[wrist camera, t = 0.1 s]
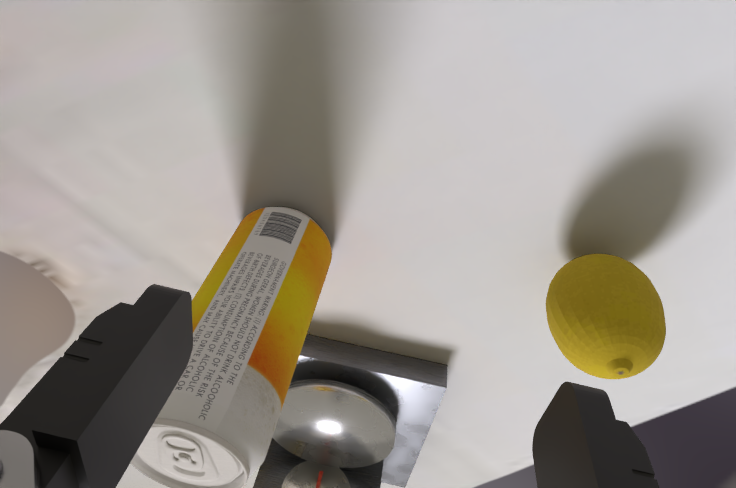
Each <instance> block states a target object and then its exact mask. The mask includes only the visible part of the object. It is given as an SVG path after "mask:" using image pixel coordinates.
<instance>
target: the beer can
mask: <svg viewBox="0 0 736 488" xmlns="http://www.w3.org/2000/svg"><path fill="white" fill-rule="evenodd" d="M331 258H332V251H331V246H330V242H329V240H328V238H327V236H326V234H325V233H324V232H323V230H322V229H321V228H320V227H319V225H318V224H317V223H316V222H315V221H314V220H313V219H312V218H310V217H309V216H307V215H306V214H304V213H302V212H300V211H298V210H295V209H292V208H287V207H265V208H261V209H258V210H255V211H253V212H251V213H250V214H248V215H247V216H246V217H245V218H244V219H243V220H242V221H241V223H240V224H239V226H238V228H237V229H236V231H235V233H234V234H233V236H232V237H231V239H230V241H229V242H228V244H227V245H226V247H225V249H224V250H223V252H222V253H221V255H220V257H219V258H218V260H217V261H216V263H215V265H214V266H213V268H212V270H211V271H210V273H209V274H208V276H207V278H206V279H205V281H204V282H203V284H202V286H201V287H200V289H199V290H198V292H197V294H196V295H195V297H194V298H193V300H192V325H193V348H192V353H191V356H190V359H189V362H188V365H187V367H186V369H185V371H184V372H183V374H182V376H181V378H180V379H179V381H178V383H177V384H176V386H175V388H174V389H173V391H172V393H171V394H170V396H169V398H168V400H167V401H166V403H165V405H164V406H163V408H162V410H161V411H160V413H159V415H158V416H157V418H156V420H155V422H154V423H153V425H152V427H151V428H150V430H149V432H148V433H147V435H146V437H145V438H144V440H143V442H142V444H141V445H140V447H139V449H138V450H137V452H136V454H135V455H134V457H133V459H132V460H131V462H130V464H131V465H132V466H133V467H135V468H136V469H137V470H138V471H140V472H141V473H143V474H144V475H146V476H147V477H149V478H151V479H152V480H154V481H156V482H158V483H160V484H163V485H165V486H167V487H170V488H243V487H244V486H245V485H246V483H247V480H248V478H249V477H250V476H251V475H252V474H253V473H254V472H255V471H256V470H257V469H258V468H259V467H260V466H261V465H262V463H263V462H264V460H265V457H266V455H267V452H268V449H269V446H270V443H271V440H272V437H273V434H274V431H275V428H276V425H277V422H278V419H279V416H280V413H281V410H282V407H283V404H284V401H285V398H286V395H287V392H288V389H289V386H290V383H291V380H292V377H293V374H294V371H295V368H296V365H297V362H298V359H299V356H300V353H301V350H302V347H303V344H304V341H305V338H306V335H307V332H308V329H309V326H310V323H311V320H312V317H313V314H314V311H315V308H316V305H317V302H318V299H319V296H320V293H321V290H322V287H323V284H324V281H325V278H326V275H327V272H328V269H329V266H330V263H331Z"/></svg>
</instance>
